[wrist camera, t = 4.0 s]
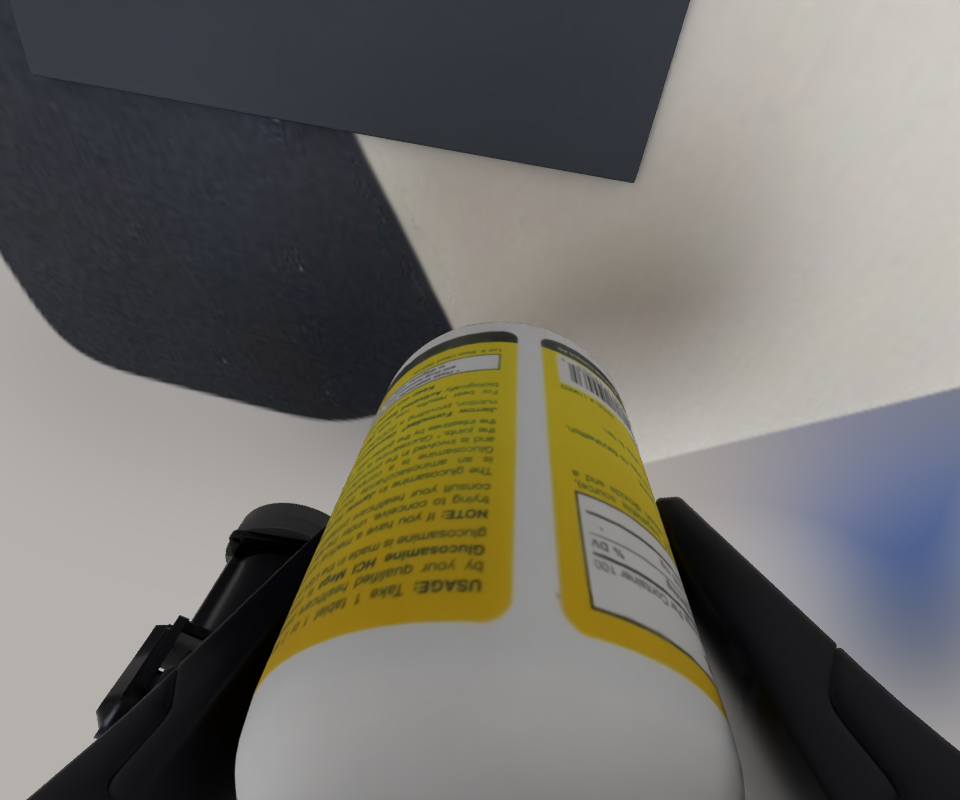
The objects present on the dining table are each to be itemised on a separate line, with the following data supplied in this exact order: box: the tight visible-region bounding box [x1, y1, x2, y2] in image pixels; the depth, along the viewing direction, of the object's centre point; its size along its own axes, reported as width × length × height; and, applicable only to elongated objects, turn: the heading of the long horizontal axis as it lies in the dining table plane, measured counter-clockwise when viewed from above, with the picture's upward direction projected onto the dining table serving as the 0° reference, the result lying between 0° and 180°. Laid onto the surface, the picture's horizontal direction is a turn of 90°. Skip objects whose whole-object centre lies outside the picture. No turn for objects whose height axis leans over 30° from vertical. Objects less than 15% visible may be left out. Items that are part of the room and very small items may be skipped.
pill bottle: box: [235, 322, 745, 800], centre depth 8 cm, size 6×6×11 cm
